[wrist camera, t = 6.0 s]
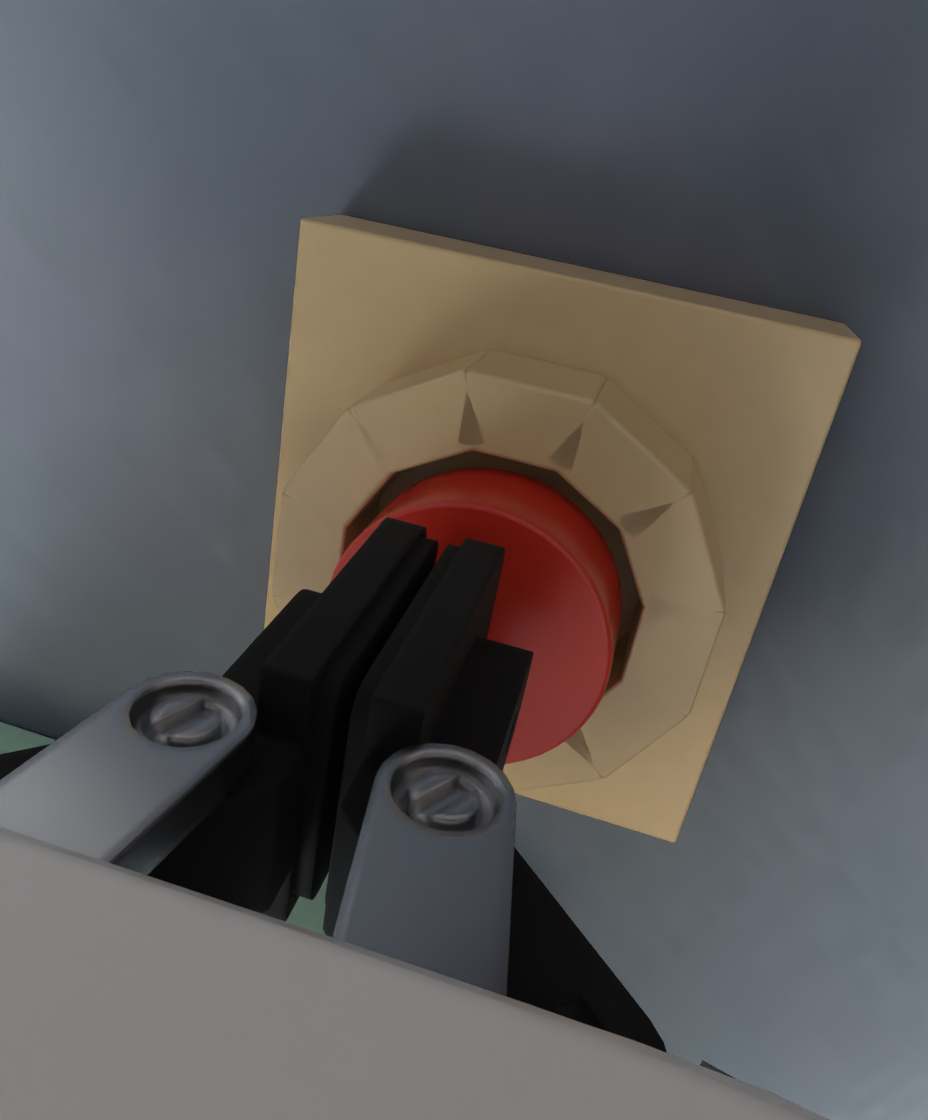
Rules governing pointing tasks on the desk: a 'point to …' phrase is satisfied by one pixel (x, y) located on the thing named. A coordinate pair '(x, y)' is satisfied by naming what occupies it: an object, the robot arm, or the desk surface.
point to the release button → (530, 588)
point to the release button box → (565, 460)
